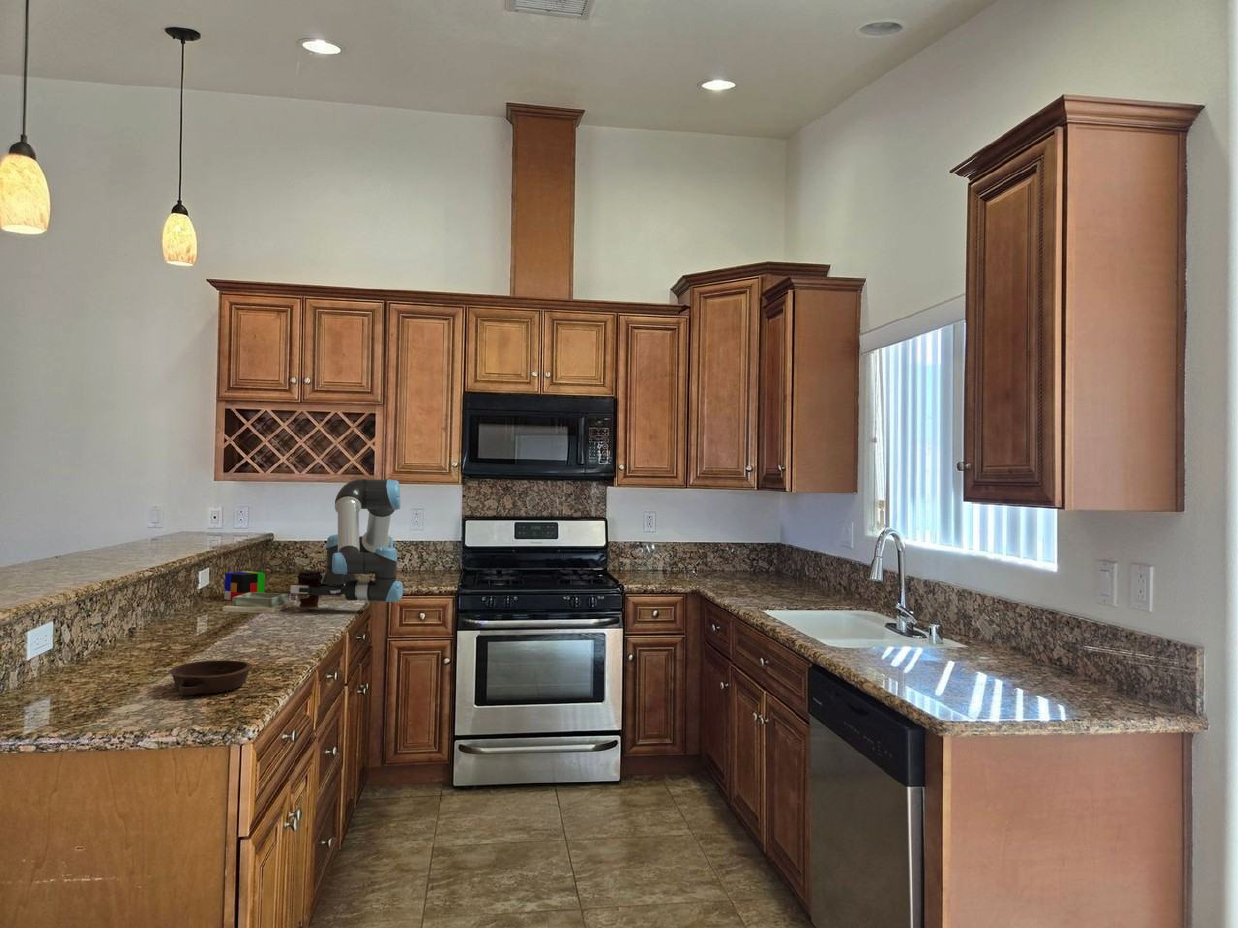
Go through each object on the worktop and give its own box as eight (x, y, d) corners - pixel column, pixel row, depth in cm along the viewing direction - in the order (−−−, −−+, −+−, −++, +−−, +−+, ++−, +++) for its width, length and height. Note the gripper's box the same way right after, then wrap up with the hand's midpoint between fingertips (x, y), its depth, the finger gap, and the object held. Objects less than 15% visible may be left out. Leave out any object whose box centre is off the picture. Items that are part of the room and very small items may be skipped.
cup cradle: (248, 602, 329) (249, 590, 329) (296, 604, 328) (296, 592, 328) (222, 611, 309) (223, 598, 309) (272, 613, 308) (273, 600, 308)
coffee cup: (306, 610, 311) (307, 573, 311) (290, 607, 315) (291, 571, 315) (326, 607, 318) (327, 571, 318) (310, 604, 323) (312, 569, 323)
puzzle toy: (224, 599, 336) (225, 573, 336) (246, 596, 345) (247, 570, 345) (242, 601, 331) (243, 575, 331) (264, 598, 340) (265, 572, 340)
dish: (267, 678, 217) (268, 658, 217) (227, 701, 195) (227, 679, 195) (196, 676, 217) (197, 656, 217) (148, 699, 195) (149, 676, 195)
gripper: (348, 604, 306) (283, 602, 307) (367, 596, 326) (306, 593, 327) (348, 583, 306) (284, 580, 307) (368, 576, 326) (307, 573, 327)
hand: (295, 587), depth 317 cm, fingers closed on coffee cup, 7 cm apart
